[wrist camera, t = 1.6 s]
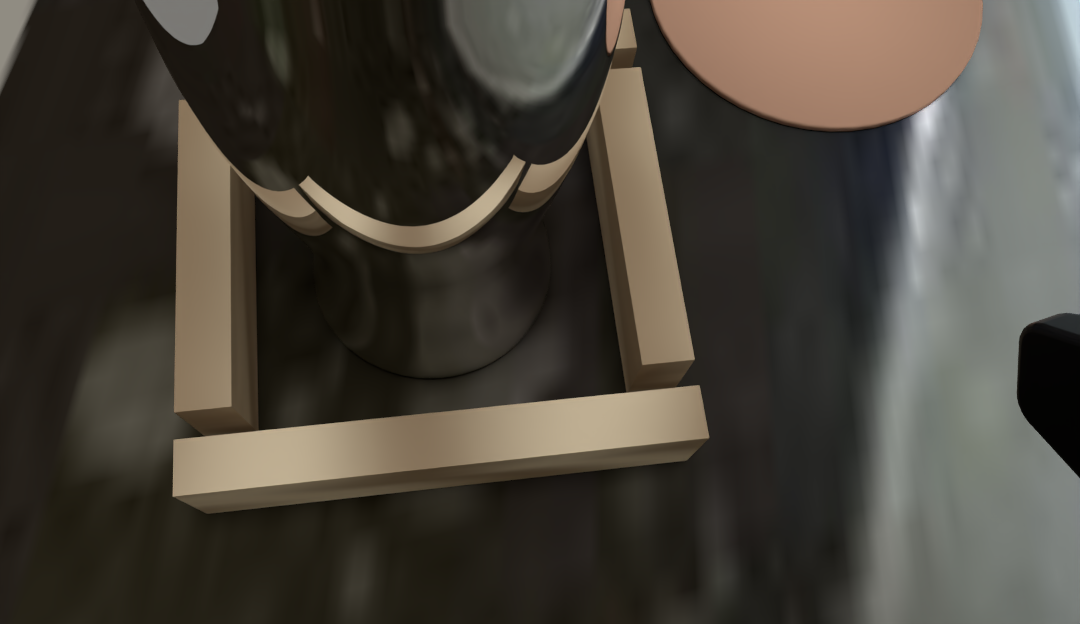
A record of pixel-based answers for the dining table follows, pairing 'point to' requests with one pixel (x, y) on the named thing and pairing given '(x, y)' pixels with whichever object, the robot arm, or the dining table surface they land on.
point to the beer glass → (402, 150)
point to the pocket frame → (444, 437)
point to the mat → (824, 55)
